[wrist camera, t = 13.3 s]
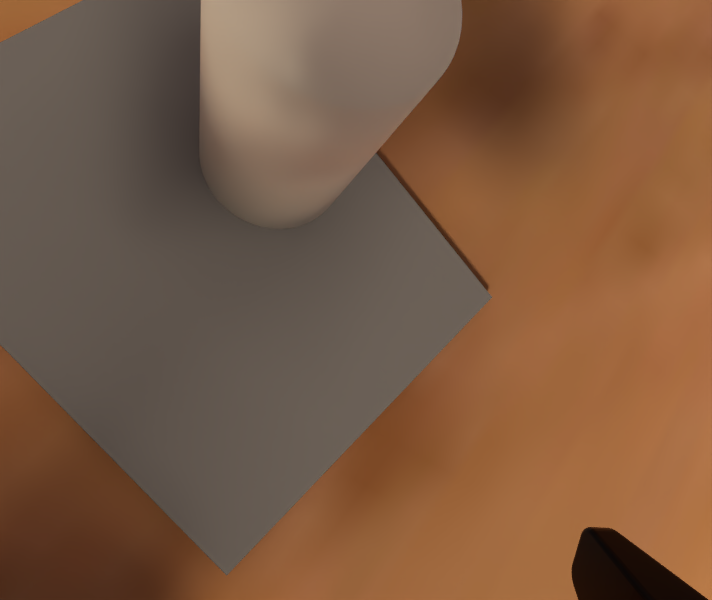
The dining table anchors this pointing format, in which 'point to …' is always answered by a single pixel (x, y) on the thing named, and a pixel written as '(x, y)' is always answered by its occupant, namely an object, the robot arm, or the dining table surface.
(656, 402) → the dining table surface
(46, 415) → the dining table surface
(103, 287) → the mat
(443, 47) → the canister
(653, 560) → the robot arm
